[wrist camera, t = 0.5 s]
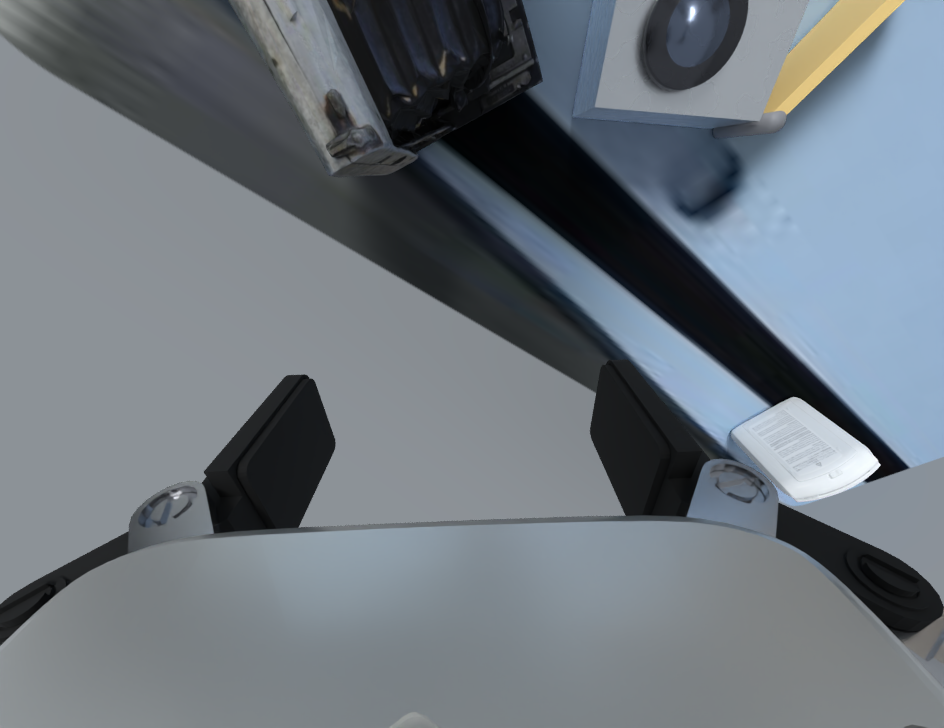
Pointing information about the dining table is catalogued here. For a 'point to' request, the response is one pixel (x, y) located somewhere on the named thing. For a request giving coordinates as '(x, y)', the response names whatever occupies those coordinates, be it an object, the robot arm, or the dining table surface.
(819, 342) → the dining table surface
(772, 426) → the photo printer
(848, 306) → the dining table surface
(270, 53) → the vintage camera
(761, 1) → the aluminium camera mock-up
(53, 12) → the dining table surface
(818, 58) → the ochre side door
